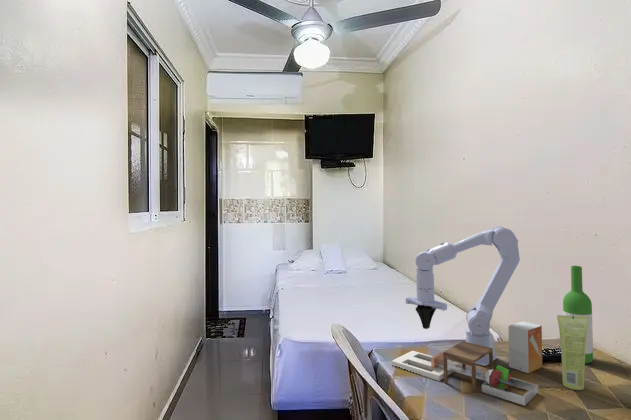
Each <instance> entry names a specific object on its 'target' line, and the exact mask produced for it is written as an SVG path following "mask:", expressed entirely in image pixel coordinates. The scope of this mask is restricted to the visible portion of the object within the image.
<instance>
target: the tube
mask: <svg viewBox="0 0 631 420" xmlns="http://www.w3.org/2000/svg"><path fill="white" fill-rule="evenodd" d="M556 318H557V323H558V329H559V330H558V331H559V339H560V352H561V370H562V372H561V373H562V385H563V386H564V387H565V388H568V389H570V390H573V391H574V390H575V391H582V390H584V389H585V369H586V368H585V366H586V364H585V348H586V334H587V325H588V317H582V316H565V315H563V314H557V316H556Z"/></svg>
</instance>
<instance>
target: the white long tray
mask: <svg viewBox="0 0 631 420" xmlns="http://www.w3.org/2000/svg"><path fill="white" fill-rule="evenodd" d="M432 356H433V357H432V358H431V368H436V367H441V368H444V362H443V352H439V353H436V354H435V355H432ZM447 370H451V371H454V372H453V373H458V374H462V375H464V376H469V377H471V378H472V370H468V369H467V368H466V369H462V367H460V366H459V367H455V366H452V365H448V364H447ZM512 377H513V376H511V377H510V381H509V383H511V384H513V385H510V384H509V385H508V386H512V387H514V385H515V387H516V388H519V389H522V390H525V391H526V392H525V393H524V394H523V395H521V394H518V393H514V392H512V391H509V390H507V391H506V389H505V390H502V389H499V388H495V387H492V385H491V386H490V385H489V384H488V382H487V381H486V380H485V374H483V373H479V372H476V380H478V379H479V380H482V381H484V382H483V383H481V392H482V393H484V394H487V395H489V396H492V397H496V398H500V399H503V400H506V401H510V402H512V403H515V404H518V405H522V406H526V405H527V404H528V403H529V402H530V401H532V399H533V398H535V396H536V395H537V394H538V393H539V384H537V383H533V382H530V381H526V380H522V379H519V378H514V377H513V378H512ZM490 379H491V377H489V383H490ZM514 382H515V383H514ZM515 387H514V388H515Z"/></svg>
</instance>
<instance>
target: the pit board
mask: <svg viewBox="0 0 631 420" xmlns="http://www.w3.org/2000/svg"><path fill="white" fill-rule="evenodd" d="M433 356H434V355H429V354H426V353H422V352H419V351H416V350H411V351H409V352H407V353H404V354H403V355H401V356H399V357H397V358H395V359H393V360H391V366H392V365H393V367H395V366H397V367H396V368H398V367H400V368H399V369H401V368H402V369H401V370H404V369H406V370H405V371H407V370H408V371H407V372H410V371H411V373H413V372H414V374H416V373H417V375H419V374H420V376H423V377H425V378H429V379H432V380H435V381H438V382H440V381H442V380H444V368H441V367H436V368H431V358H432V357H433ZM407 363H408V364H407ZM447 364H448V365H452V366H455V367H459V368H460V366H459V365H460V363H459V362H455V361H452V360H448V359H447ZM447 372H448V376H449V375H451V374H452V373H455V372H454V371H451V370H447Z"/></svg>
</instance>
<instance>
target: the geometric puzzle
mask: <svg viewBox="0 0 631 420" xmlns="http://www.w3.org/2000/svg"><path fill="white" fill-rule="evenodd" d="M495 368H496V369H494V368H493V369H490V370H489V369H486V371H485V372H484V375H485V380H486V381H487V382H488V384H489V385H490V386H491V385H492V387H495V388H499V389H502V390H505V391H508V392H511V387H509V386H511V385H513V384H511V383H509V381H510V377H512V378H514V376H512V372H511V371H510V369H509V368H507V367H504V366H502V365H500V364H496V365H495ZM491 373H492V375H491ZM490 376H491V379H490V383H489V377H490ZM486 381H485V382H486ZM514 383H515V382H514ZM509 384H510V385H509ZM513 388H515V385H514V386H513Z"/></svg>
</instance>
